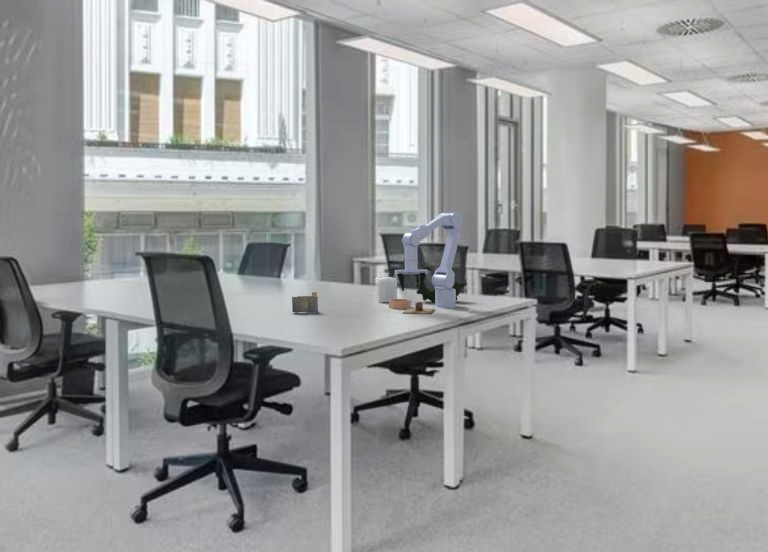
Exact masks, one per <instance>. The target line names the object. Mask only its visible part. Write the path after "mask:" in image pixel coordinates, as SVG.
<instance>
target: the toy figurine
mask: <svg viewBox="0 0 768 552" xmlns="http://www.w3.org/2000/svg"><path fill="white" fill-rule="evenodd" d="M420 269H427V270H428V271H430V272H432V271H433V270H432V269H433V268H431V267H429V266H428V265H425V266H422V267H420ZM418 275H419V274H414V277H415V278H414V280H415V283H416V284H415V287H416V288H417V290H416V294H417V295H421V297H422V300H423V301H425V302H426V301H427V300H429V301H431V303H435V289H436V288H431V289H430V288H427V286H426V283H425V281H423V283H422V287H421V290H419V278H418ZM454 280H455V281H454V285H453V287H452V289H455V290H456V302H457V301H458V296H459V295H460V294H461V291H462V289H463V288H464V287H465V286H467V283H466V282H459V281H457V280H456V279H454Z"/></svg>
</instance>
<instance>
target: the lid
mask: <svg viewBox="0 0 768 552" xmlns="http://www.w3.org/2000/svg"><path fill="white" fill-rule="evenodd" d="M423 305H424V302H423V301H415V307H414V308H412V307H411V308H408V309H404V311H402V313H403V314H402V315H432V314H433V313H432V312H433V311H434V310H436V309H435V308H423V307H424V306H423ZM431 313H432V314H431Z"/></svg>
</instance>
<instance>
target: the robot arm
mask: <svg viewBox="0 0 768 552" xmlns="http://www.w3.org/2000/svg"><path fill="white" fill-rule="evenodd" d="M462 223H463V219H462V216H461V214H460V213H459V212H441V213H439V214H437V216H436V217H434V219H433V220H431V221H429V222H428V223H427V224H418V226H417V228H415V229H412V230H411V231H410V232H406V233H404V235H403V236H402V239H401V243H402V245H403V249H404V269H395V270H394V275H396V277H397V279H398V280H399V283H400V288H401V291H402V292H405V276H404V275H415V274H419V275H418V278H419V290H421V287H422V283H423V281H424V280H425V278H426V276H427V275H428V274H429V273H428V272H429V270H427V269H421V268H420V269H419V268H418V267H419V265H418V260H419V259H418V255H419V254H418V249H419V248H418V246H419V245H420V243H421V241H422V240H424V239H426V238H428V236H430V234H431V232H432V231H434V230H435V229H438V227H441V228H442V229H443V231H445V232H446V233H447V236H446V237H447V238H446V242H445V246H444V248H443V254H442V259H441V262H440V266H439V267H437V268H436V270H435V271H434V274H433V275H432V277H431V284H432V286H433V287H434V288H433V289H435V302H434V303H435V305H434V306H433V308H438V309H439V308H440V309H441V308H443V309H444V308H446V309H447V308H449V309H454V308H455V307H456V306H457V301H456V290H455V289H452V287H453V285H454V281H455V280H456V279H455V273H456V272H454V271H453V266H454V261H455V257H456V254H457V249H458V245H459V241H460V238H461V234H462V233H461V231H462V230H461V229H462V228H461V227H462ZM424 282H425V281H424Z"/></svg>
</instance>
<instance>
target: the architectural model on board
mask: <svg viewBox="0 0 768 552" xmlns="http://www.w3.org/2000/svg"><path fill="white" fill-rule="evenodd" d="M291 303H292V307H291V308H292V310H291V311H292V312H318V313H319V296H318V291H312V292H311V295H302V296H301V295H300V296H298V295H297V296H292V297H291Z"/></svg>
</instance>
